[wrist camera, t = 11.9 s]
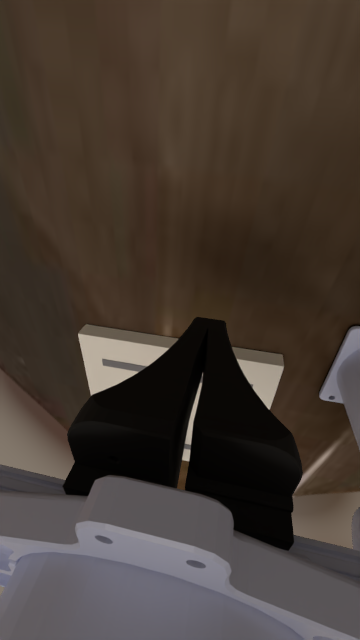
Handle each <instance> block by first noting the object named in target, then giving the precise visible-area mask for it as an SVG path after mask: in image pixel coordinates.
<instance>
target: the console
mask: <svg viewBox="0 0 360 640" xmlns="http://www.w3.org/2000/svg"><path fill="white" fill-rule="evenodd" d="M78 336H79V341H80V345H81V350H82V355H83V360H84V364H85V369H86V374H87V378H88V383H89V388H90V393H91V395H93V394H95V393H98V392H100V391H103V390H105V389H107V388H110V387H112V386H114V385H116V384H119V383H121V382H122V381H124V380H126V379H128V378H130V377H132V376H133V375H135V374H137V373H138V372H140V371H141V370H143V369H144V368H146V367H147V366H149V365H150V364H151V363H153V362H154V361H155V360H157V359H158V358H159V357H160V356H161V355H163V354H164V353H165V352H166V351H167V350H168V349H169V348H170V347H171V346H172V345H173V344H174V343H175V342H176V341H177V340H178V338H172V337H165V336H159V335H152V334H146V333H139V332H133V331H126V330H120V329H113V328H107V327H100V326H94V325H88V324H86V325H85V326H84V327H83V328H82V329H81V331H80V332H79V333H78ZM232 349H233V352H234V354H235V357H236V359H237V361H238V363H239V365H240V367H241V369H242V371H243V373H244V375H245V377H246V378H247V380H248V382H249V383H250V385H251V386H252V388H253V389H254V391H255V392H256V393H257V395H258V396H259V397H260V399H261V400H262V401H263V403H264V404H265V405H266V407H267V408H268V409H269V410H270V407H271V404H272V401H273V398H274V395H275V392H276V389H277V386H278V383H279V380H280V377H281V375H282V372H283V369H284V362H283V355H282V354H275V353H269V352H262V351H256V350H249V349H243V348H236V347H232ZM202 380H203V374H202V378H201V381H200V384H199V388H198V391H197V395H196V398H195V401H194V405H193V408H192V412H191V416H190V420H189V425H188V430H187V435H186V440H185V446H184V451H183V457H182V460H185V461H189V459H190V449H191V439H192V430H193V422H194V418H195V413H196V409H197V405H198V400H199V396H200V391H201V387H202Z"/></svg>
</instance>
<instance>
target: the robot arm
mask: <svg viewBox="0 0 360 640" xmlns="http://www.w3.org/2000/svg"><path fill="white" fill-rule="evenodd" d="M202 374H203V380H202V387H201V391H200V396H199V400H198V405H197V409H196V413H195V418H194V422H193V430H192V439H191V449H190V459H189V467H188V473H187V478H186V484H185V490H180V489H177V484H178V479H179V473H180V468H181V462H182V457H183V451H184V446H185V440H186V435H187V430H188V425H189V420H190V416H191V412H192V408H193V405H194V401H195V398H196V395H197V391H198V388H199V384H200V381H201V378H202ZM319 396H320V398H321V399H322V400H326V401H332V402H338V403H343V404H344V406H345V409H346V412H347V415H348V417H349V420H350V423H351V426H352V429H353V432H354V435H355V438H356V441H357V444H358V447H359V450H360V326H354V327H351V328H350V329H349V330H348V332H347V334H346V337H345V339H344V341H343V343H342V345H341V347H340V349H339V352H338V354H337V356H336V358H335V360H334V362H333V364H332V367H331V369H330V371H329V373H328V375H327V377H326V379H325V382H324V384H323V386H322V388H321V390H320V392H319ZM67 436H68V442H69V445H70V448H71V451H72V454H73V457H74V460H75V463H74V465H73V467H72V469H71V471H70V473H69V475H68V477H67V478H66V480H63V479H58V478H54V477H50V476H46V475H42V474H38V473H33V472H29V471H25V470H21V469H16V468H13V467H9V466H4V465H0V586H2V587H4V590H3V592H2V594H1V596H0V640H360V507H359V508H358V509H357V510H356V511H355V513H354V515H353V519H352V542H353V549H350V548H346V547H342V546H337V545H333V544H329V543H325V542H321V541H317V540H313V539H308V538H304V537H300V536H296V535H293V526H292V517H291V513H292V512H293V499H292V495H293V493H294V491H295V489H296V488H297V486H298V484H299V482H300V480H301V478H302V474H303V472H302V464H301V460H300V456H299V452H298V449H297V446H296V443H295V440H294V437H293V435H292V433H291V432H290V431H289V430H288V429H287V428H286V427H285V426H284V425H283V424H282V423H281V422H280V421H279V420H278V419H277V418H276V417H275V416H274V415H273V414H272V412H271V411H270V410H269V409H268V408H267V407H266V405H265V404H264V403H263V401H262V400H261V399H260V397H259V396H258V395H257V393H256V392H255V391H254V389H253V388H252V386H251V385H250V383H249V382H248V380H247V378H246V377H245V375H244V373H243V371H242V369H241V367H240V365H239V363H238V361H237V359H236V357H235V354H234V352H233V349H232V347H231V344H230V341H229V337H228V334H227V329H226V323H225V321H222V320H215V319H208V318H201V317H196V318H195V319H194V320H193V322H192V323H191V325H190V326H189V327H188V329H187V330H186V331H185V332H184V333H183V335H182V336H181V337H180V338H179V339H178V340H177V341H176V342H175V343H174V344H173V345H172V346H171V347H170V348H169V349H168V350H167V351H166V352H165V353H164V354H163V355H161V356H160V357H159V358H158V359H157V360H155V361H154V362H153V363H151V364H150V365H149V366H147V367H146V368H144V369H143V370H141V371H140V372H138V373H137V374H135V375H133V376H132V377H130V378H128V379H126V380H124V381H122V382H121V383H119V384H116V385H114V386H112V387H110V388H107V389H105V390H103V391H100V392H98V393H95V394H93V395H91V397H90V398H89V399H88V401H87V402H86V403H85V404H84V406H83V407H82V409H81V410H80V411H79V413H78V415H77V417H76V418H75V420H74V422H73V423H72V425H71V427H70V428H69V431H68V434H67Z"/></svg>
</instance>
